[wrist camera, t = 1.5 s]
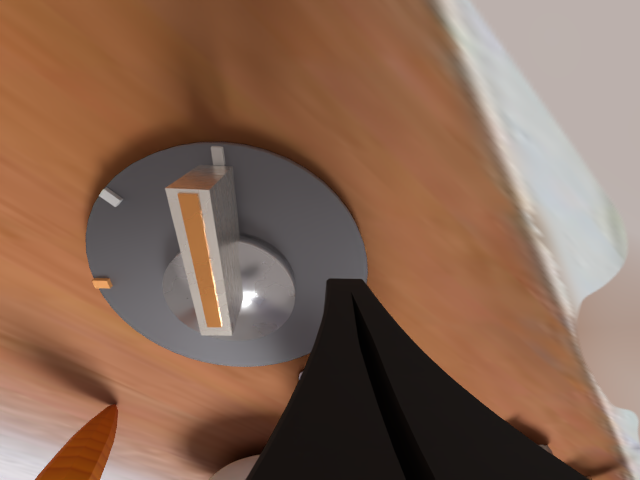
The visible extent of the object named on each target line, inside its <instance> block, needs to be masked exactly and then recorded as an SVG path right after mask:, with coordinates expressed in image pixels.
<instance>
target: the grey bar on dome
mask: <svg viewBox="0 0 640 480" xmlns="http://www.w3.org/2000/svg"><path fill="white" fill-rule="evenodd" d="M165 190H166V194H167V198H168V203H169V207H170V211H171V215H172V219H173V223H174V227H175V231H176V235H177V239H178V243H179V247H180V251H179V253H178V254H177V255H176V256H175V258H174V259H173V260H172V261H171V263H170V264H169V265H168V267H167V269H166V271H165V274H164V276H163V283H162V287H163V294H164V298H165V300H166V303H167V305H168V306H169V308H170V310H171V311H172V312H173V313H174V315H175V316H176V317H177V318H178V319H179V320H180V321H182V322H183V323H184V324H185V325H187V326H188V327H190V328H192V329H193V330H195V331H197V332H199V333H201V335H206V336H210V337H213V338H217V339H222V340H230V341H244V340H252V339H256V338H260V337H263V336H266V335H268V334H270V333H272V332H274V331H275V330H277V329H278V328H280V327H281V326H282V325H283V324H284V323H285V322H286V321H287V319H288V318H289V317H290V315H291V313H292V311H293V307H294V303H295V288H296V283H295V276H294V272H293V269H292V267H291V265H290V263H289V262H288V260H287V259H286V258H285V256H284V255H283V254H282V253H281V252H280V251H279V250H278V249H277V248H275V247H274V246H273V245H271V244H270V243H268V242H266V241H265V240H263V239H260V238H258V237H256V236H253V235H250V234H246V233H241V232H240V231H239V222H238V213H237V203H236V194H235V185H234V175H233V167H232V166H211V165H198V166H197V167H196V168H194V169H193V170H191V171H190V172H188V173H187V174H185V175H184V176H182V177H181V178H179V179H178V180H176V181H175V182H173V183H172V184H170V185H169V186H167V187H166V188H165Z"/></svg>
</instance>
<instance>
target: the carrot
mask: <svg viewBox="0 0 640 480" xmlns="http://www.w3.org/2000/svg"><path fill="white" fill-rule="evenodd" d="M117 417H118V410H117V407H116V405H115V404H113V405H111V406H108V407H107V408H105V409H104V410H103V411H102V412H100V413H99V414H98V415H97V416H95V417H94V418H93V419H91V420H90V421H89V422H88V423H87V424H86V425H85V426H83V427H82V428H81V429H80V430H79V431H78V432H77V433H76V434H75V435H74V436H73V437H72V438H71V439H70V440H69V441H68V442H67V443H66V444H65V445H64V446H63V448H62V449H61V450H60V451H59V452H58V453H57V454H56V455H55V456H54V458H53V459H52V460H51V461H50V462H49V463H48V465H47V466H46V467H45V468H44V469H43V470H42V471H41V473H40V474H39V475H38V476H37V478H36V479H35V480H100V478H101V475H102V473H103V470H104V467H105V465H106V462H107V460H108V457H109V454H110V451H111V448H112V445H113V442H114V438H115V433H116V428H117Z"/></svg>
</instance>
